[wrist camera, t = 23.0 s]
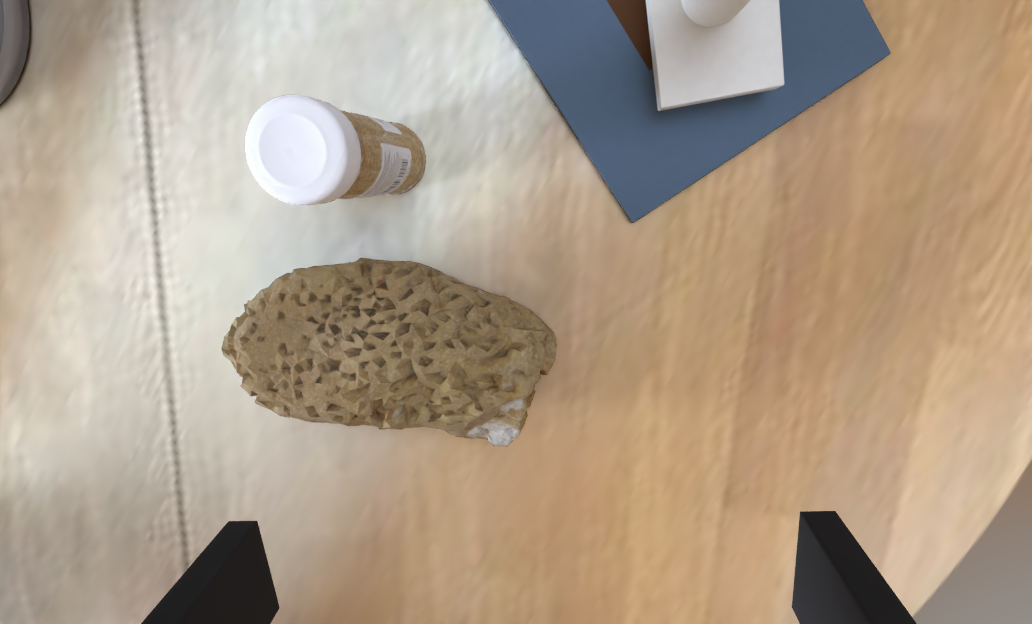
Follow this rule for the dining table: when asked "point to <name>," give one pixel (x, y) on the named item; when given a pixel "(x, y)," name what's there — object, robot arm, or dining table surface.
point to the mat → (684, 130)
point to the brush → (714, 49)
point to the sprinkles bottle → (329, 152)
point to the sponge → (391, 350)
